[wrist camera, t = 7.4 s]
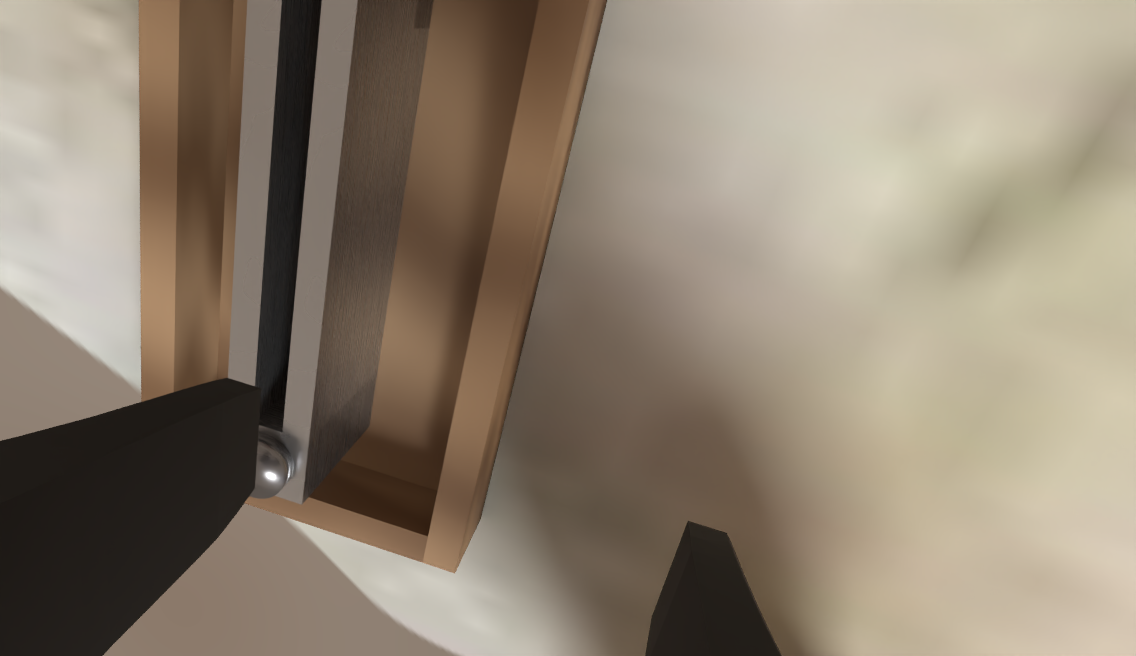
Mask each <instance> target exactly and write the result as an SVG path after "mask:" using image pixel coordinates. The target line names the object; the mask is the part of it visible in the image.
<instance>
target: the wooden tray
mask: <svg viewBox="0 0 1136 656" xmlns="http://www.w3.org/2000/svg"><path fill="white" fill-rule="evenodd" d="M606 3H607V0H434V2H433V9H432V15H431V22H430V28H429V35H428V42H427V48H426V55H425V61H424V68H423V75H422V81H421V88H420V95H419V101H418V108H417V114H416V121H415V128H414V134H413V141H412V147H411V154H410V161H409V167H408V174H407V181H406V187H405V194H404V200H403V207H402V214H401V220H400V227H399V233H398V240H397V247H396V253H395V260H394V267H393V273H392V280H391V286H390V293H389V300H388V306H387V313H386V319H385V326H384V333H383V339H382V346H381V353H380V359H379V366H378V372H377V379H376V386H375V392H374V399H373V405H372V412H371V419H370V425H369V427H368V429H367V430H366V431H365V432H364V433H363V434H362V436H361V437H360V438H359V439H358V440H357V441H356V443H355V444H354V445H353V446H352V447H351V448H350V450H349V451H348V452H347V453H346V454H345V455H344V457H343V458H342V459H341V460H340V461H339V462H338V463H337V465H336V466H335V467H334V468H333V469H332V470H331V472H330V473H329V474H328V475H327V476H326V477H325V479H324V480H323V481H322V482H321V483H320V484H319V486H318V487H317V488H316V489H315V490H314V491H313V493H312V494H311V495H310V496H309V497H308V498H307V499H306V501H305V502H304V503H303V504H302V505H301V504H298V503H295V502H292V501H289V500H286V499H283V498H280V497H277V496H273V497H271V498H267V499H258V498H253V497H250V496H249V497H248V499H247V500H246V501H245V503H246V504H248V505H252V506H254V507H257V508H260V509H263V510H266V511H269V512H272V513H275V514H279V515H281V516H284V517H287V518H290V519H293V520H296V521H299V522H302V523H305V524H308V525H311V526H314V527H317V528H320V529H323V530H326V531H329V532H332V533H335V534H338V535H341V536H344V537H347V538H350V539H353V540H357V541H360V542H363V543H366V544H369V545H372V546H375V547H378V548H381V549H384V550H387V551H390V552H393V553H396V554H399V555H402V556H405V557H408V558H411V559H414V560H417V561H420V562H423V563H426V564H429V565H432V566H435V567H438V568H441V569H444V570H447V571H450V572H453V573H455V572H456V570H457V568H458V566H459V563H460V561H461V559H462V557H463V555H464V553H465V551H466V549H467V547H468V544H469V542H470V540H471V538H472V536H473V534H474V532H475V530H476V527H477V525H478V523H479V521H480V519H481V515H482V511H483V507H484V503H485V499H486V495H487V491H488V487H489V483H490V479H491V474H492V470H493V466H494V462H495V458H496V454H497V450H498V446H499V442H500V438H501V433H502V429H503V425H504V421H505V417H506V413H507V409H508V405H509V401H510V397H511V392H512V388H513V384H514V380H515V376H516V372H517V368H518V364H519V360H520V356H521V351H522V347H523V343H524V339H525V335H526V331H527V327H528V323H529V319H530V315H531V310H532V306H533V302H534V298H535V294H536V290H537V286H538V282H539V278H540V274H541V269H542V265H543V261H544V257H545V253H546V249H547V245H548V241H549V237H550V233H551V228H552V224H553V220H554V216H555V212H556V208H557V204H558V200H559V196H560V192H561V187H562V183H563V179H564V175H565V171H566V167H567V163H568V159H569V155H570V151H571V146H572V142H573V138H574V134H575V130H576V126H577V122H578V118H579V114H580V110H581V105H582V101H583V97H584V93H585V89H586V85H587V81H588V77H589V73H590V69H591V64H592V60H593V56H594V52H595V48H596V44H597V40H598V36H599V32H600V28H601V23H602V19H603V15H604V11H605V7H606ZM246 17H247V0H139V100H140V250H141V399H142V402H143V401H146V400H150V399H153V398H156V397H159V396H163V395H166V394H169V393H173V392H176V391H179V390H182V389H186V388H189V387H193V386H196V385H200V384H203V383H207V382H211V381H215V380H219V379H224V378H228V367H229V347H230V328H231V308H232V289H233V270H234V250H235V231H236V211H237V192H238V172H239V153H240V134H241V114H242V95H243V75H244V56H245V36H246Z"/></svg>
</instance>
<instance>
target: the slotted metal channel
mask: <svg viewBox="0 0 1136 656" xmlns="http://www.w3.org/2000/svg"><path fill="white" fill-rule="evenodd" d="M433 2H434V0H247V17H246V36H245V56H244V75H243V95H242V114H241V134H240V153H239V172H238V192H237V211H236V231H235V250H234V270H233V289H232V308H231V328H230V347H229V367H228V378H230V379H233V380H236V381H239V382H243V383H246V384H249V385H252V386H255V387H259V388H261V400H260V416H259V432H258V447H257V463H256V479H255V489H254V490H253V492H252V493H251V494H250V497H253V498H258V499H267V498H271V497H273V496H277V497H280V498H283V499H286V500H289V501H292V502H295V503H298V504H301V505H302V504H303V503H304V502H305V501H306V499H307V498H308V497H309V496H310V495H311V494H312V493H313V491H314V490H315V489H316V488H317V487H318V486H319V484H320V483H321V482H322V481H323V480H324V479H325V477H326V476H327V475H328V474H329V473H330V472H331V470H332V469H333V468H334V467H335V466H336V465H337V463H338V462H339V461H340V460H341V459H342V458H343V457H344V455H345V454H346V453H347V452H348V451H349V450H350V448H351V447H352V446H353V445H354V444H355V443H356V441H357V440H358V439H359V438H360V437H361V436H362V434H363V433H364V432H365V431H366V430H367V429H368V427H369V425H370V419H371V412H372V405H373V399H374V392H375V386H376V379H377V372H378V366H379V359H380V353H381V346H382V339H383V333H384V326H385V319H386V313H387V306H388V300H389V293H390V286H391V280H392V273H393V267H394V260H395V253H396V247H397V240H398V233H399V227H400V220H401V214H402V207H403V200H404V194H405V187H406V181H407V174H408V167H409V161H410V154H411V147H412V141H413V134H414V128H415V121H416V114H417V108H418V101H419V95H420V88H421V81H422V75H423V68H424V61H425V55H426V48H427V42H428V35H429V28H430V22H431V15H432V9H433Z"/></svg>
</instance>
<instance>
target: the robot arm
mask: <svg viewBox="0 0 1136 656" xmlns="http://www.w3.org/2000/svg"><path fill="white" fill-rule="evenodd" d="M260 400H261V388H259V387H255V386H252V385H249V384H246V383H243V382H239V381H236V380H233V379H230V378H224V379H219V380H215V381H211V382H207V383H203V384H200V385H196V386H193V387H189V388H186V389H182V390H179V391H176V392H173V393H169V394H166V395H163V396H159V397H156V398H153V399H150V400H146V401H143V402H140V403H136V404H133V405H130V406H127V407H123V408H120V409H116V410H113V411H110V412H107V413H103V414H100V415H97V416H93V417H90V418H86V419H83V420H79V421H75V422H71V423H68V424H64V425H60V426H56V427H52V428H49V429H45V430H41V431H37V432H34V433H30V434H26V435H23V436H19V437H15V438H11V439H6V440H2V441H0V656H102V655H104V653H105V652H106V651H107V650H108V649H109V648H110V647H111V646H112V645H113V644H114V643H115V642H116V641H117V640H118V639H119V638H120V637H121V636H122V635H123V634H124V633H125V632H126V631H127V630H128V629H129V628H130V627H131V626H132V625H133V624H134V623H135V622H136V621H137V620H138V619H139V618H140V617H141V616H142V614H143V613H145V612H146V611H147V610H148V609H149V608H150V607H151V606H152V605H153V604H154V603H155V602H156V601H157V600H158V599H159V597H160V596H161V595H162V594H164V592H166V591H167V589H168V588H169V587H170V586H171V585H172V584H173V583H174V582H175V581H176V580H177V579H178V578H179V577H180V576H181V575H182V574H183V573H184V572H185V571H186V570H187V569H188V568H189V567H190V566H191V565H192V564H193V563H194V562H195V561H196V560H197V559H198V558H199V557H200V556H201V555H202V554H203V553H204V552H205V551H206V550H207V549H208V548H209V547H210V545H211V544H212V543H213V542H214V541H215V540H216V539H217V538H218V537H219V535H220V534H221V533H222V532H223V530H224V529H225V528H226V527H227V525H228V524H229V522H230V521H231V520H232V519H233V518H234V516H235V515H236V514H237V512H238V511H239V510H240V508H241V507H242V505H243V504H244V503H245V501H246V500H247V499H248V497H249V496H250V494H251V493H252V492H253V490H254V489H255V479H256V463H257V447H258V432H259V416H260ZM645 656H782V655H781V653H780V651H779V649H778V647H777V645H776V643H775V641H774V639H773V637H772V635H771V633H770V631H769V629H768V627H767V625H766V622H765V620H764V618H763V616H762V614H761V612H760V610H759V607H758V605H757V603H756V601H755V598H754V596H753V594H752V592H751V589H750V587H749V585H748V582H747V580H746V578H745V575H744V573H743V570H742V568H741V566H740V563H739V561H738V558H737V556H736V553H735V551H734V548H733V546H732V543H731V541H730V539H729V537H728V535H727V533H725V532H722V531H718V530H715V529H712V528H709V527H705V526H702V525H699V524H696V523H693V522H689V521H688V523H687V525H686V528H685V531H684V533H683V536H682V539H681V541H680V544H679V546H678V549H677V552H676V554H675V557H674V560H673V562H672V565H671V568H670V570H669V573H668V576H667V578H666V581H665V584H664V586H663V589H662V591H661V594H660V597H659V599H658V602H657V605H656V607H655V610H654V613H653V615H652V619H651V625H650V631H649V637H648V643H647V649H646V655H645Z"/></svg>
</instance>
